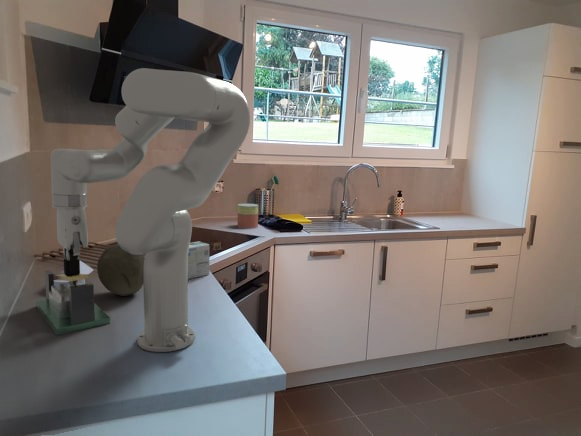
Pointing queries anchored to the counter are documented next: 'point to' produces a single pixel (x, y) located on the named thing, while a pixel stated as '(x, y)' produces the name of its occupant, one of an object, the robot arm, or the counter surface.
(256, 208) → the canned food
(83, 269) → the wedge on round base
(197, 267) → the light bulb box
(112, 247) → the cantaloupe
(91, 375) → the counter surface
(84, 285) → the cooling block
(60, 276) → the retention strap
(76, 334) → the counter surface
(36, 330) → the counter surface
